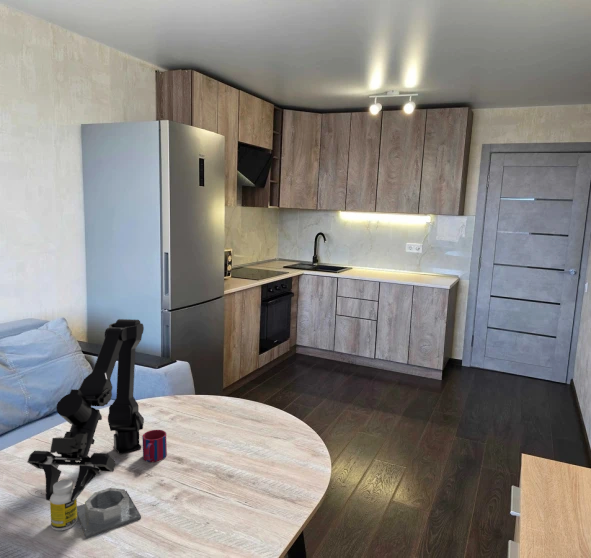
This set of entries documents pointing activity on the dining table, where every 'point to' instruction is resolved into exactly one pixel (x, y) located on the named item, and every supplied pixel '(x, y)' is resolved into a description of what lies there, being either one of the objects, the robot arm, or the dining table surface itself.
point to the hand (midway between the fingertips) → (59, 500)
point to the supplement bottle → (63, 505)
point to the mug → (154, 445)
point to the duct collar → (106, 511)
